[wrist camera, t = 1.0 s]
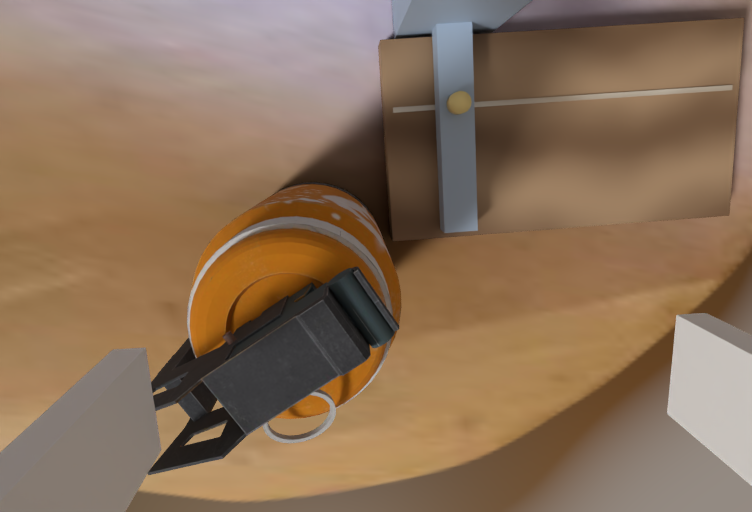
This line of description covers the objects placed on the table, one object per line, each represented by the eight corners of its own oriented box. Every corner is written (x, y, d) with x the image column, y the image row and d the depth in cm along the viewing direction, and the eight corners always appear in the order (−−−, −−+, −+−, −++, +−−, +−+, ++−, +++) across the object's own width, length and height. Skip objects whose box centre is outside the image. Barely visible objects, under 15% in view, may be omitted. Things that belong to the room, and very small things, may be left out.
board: (378, 46, 32) (380, 39, 30) (720, 25, 33) (745, 17, 31) (390, 236, 34) (392, 241, 32) (708, 211, 35) (730, 215, 33)
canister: (407, 266, 35) (484, 415, 15) (274, 353, 36) (186, 600, 16) (332, 154, 33) (311, 162, 14) (194, 248, 34) (-14, 385, 14)
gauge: (388, -67, 31) (404, -154, 22) (487, -73, 31) (543, -161, 22) (404, 226, 34) (424, 253, 25) (493, 219, 35) (543, 244, 26)
